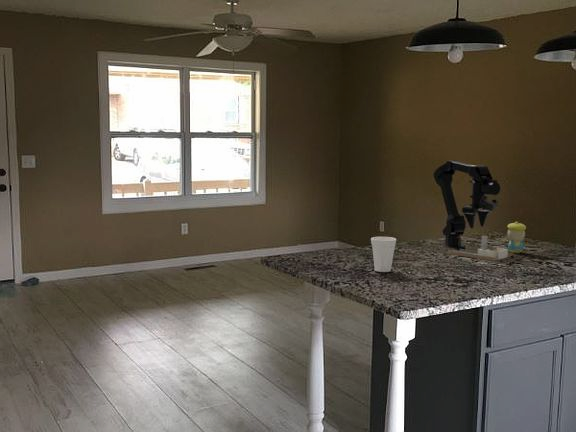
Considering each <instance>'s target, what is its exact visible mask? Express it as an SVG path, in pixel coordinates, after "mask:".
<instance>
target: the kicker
mask: <svg viewBox="0 0 576 432" xmlns="http://www.w3.org/2000/svg"><path fill="white" fill-rule="evenodd" d="M480 248H481V249H478V255H483V256H486V252H487V250H490V249H489V248H488V235H482V236H481V246H480Z"/></svg>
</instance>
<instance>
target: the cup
mask: <svg viewBox="0 0 576 432" xmlns="http://www.w3.org/2000/svg"><path fill="white" fill-rule="evenodd" d="M370 243H371V247H372V257H373V264H374V265H373V266H374V271H376V272H380V273H389V272H391V270H392V265H393V259H394V254H395V248H396V245H397V244H396V243H397V238H395V237H391V236H373V237H371V238H370Z"/></svg>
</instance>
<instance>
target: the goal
mask: <svg viewBox="0 0 576 432" xmlns="http://www.w3.org/2000/svg"><path fill="white" fill-rule="evenodd" d="M490 250H491V249H489V250H487V252H486V256H489V257H495V260H496V261H499V259H500V260H503V259H506V257H507V258H509V257H508V252H509V249H508V248H503V247H502V248H501V247H496V250H498V251H490Z"/></svg>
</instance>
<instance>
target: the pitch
mask: <svg viewBox="0 0 576 432" xmlns="http://www.w3.org/2000/svg"><path fill="white" fill-rule="evenodd" d="M478 249H481V247H474V246H465V249H463V248H459V250H455V249H454V250H450V249H449V250H448V249H447V254H448V255H453V256H459V257H467V258H471V259H478V260H484V261H488V262H495V261H497V260H495V257H489V256H483V255H478ZM489 250H490V251H492V250H493V249H489ZM510 257H512V253H511V252H510V251H508V257H506V258H510ZM506 258H505V259H506ZM499 260H501V259H499ZM499 260H498V261H499Z"/></svg>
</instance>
